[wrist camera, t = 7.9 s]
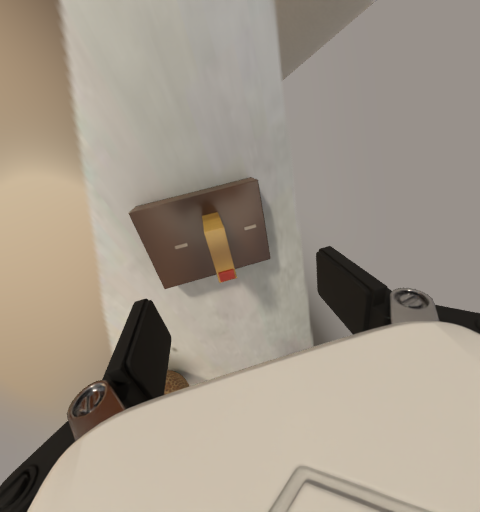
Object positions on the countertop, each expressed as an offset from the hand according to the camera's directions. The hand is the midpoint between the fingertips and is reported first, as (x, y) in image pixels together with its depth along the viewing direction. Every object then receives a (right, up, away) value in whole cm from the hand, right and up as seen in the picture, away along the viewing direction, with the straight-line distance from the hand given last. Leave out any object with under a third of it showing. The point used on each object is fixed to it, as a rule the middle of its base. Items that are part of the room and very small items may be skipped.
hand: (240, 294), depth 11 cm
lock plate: (-4, +5, +15) cm, 17 cm away
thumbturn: (-3, +4, +13) cm, 14 cm away
